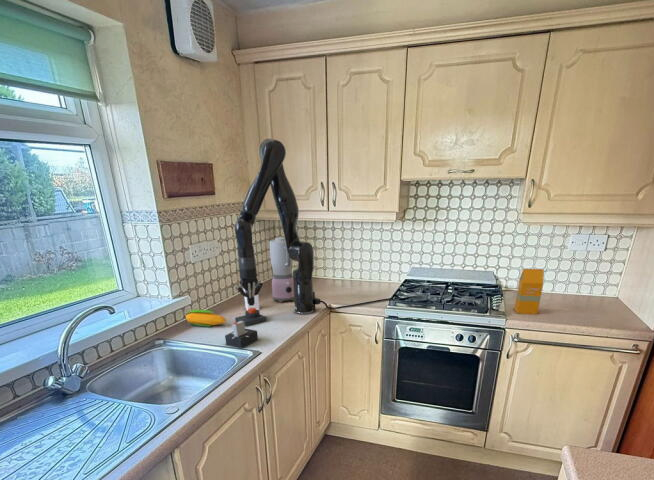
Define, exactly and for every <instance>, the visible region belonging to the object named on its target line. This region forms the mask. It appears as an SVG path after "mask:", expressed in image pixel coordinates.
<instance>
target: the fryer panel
mask: <svg viewBox="0 0 654 480" xmlns="http://www.w3.org/2000/svg"><path fill="white" fill-rule="evenodd" d="M224 339H225V345H226V346H230V347H234V348H238V349H243V348H246V347H247V346H249V345H251V344H253V343H255V342H256V341H258V340H259V336H258V330H256V329H249V328H245V334H243V335H241V336H239V337H235V336H234V331H232V332H229V333H227V334H225V335H224Z"/></svg>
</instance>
